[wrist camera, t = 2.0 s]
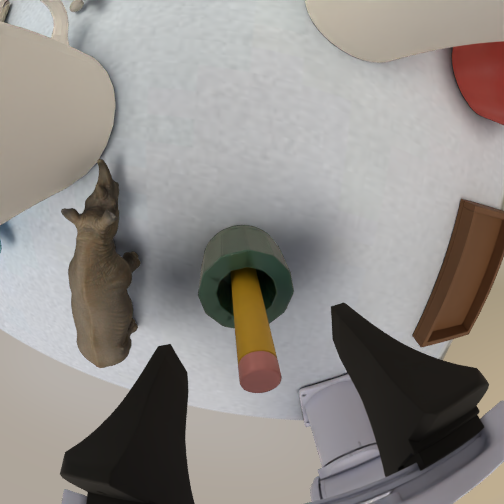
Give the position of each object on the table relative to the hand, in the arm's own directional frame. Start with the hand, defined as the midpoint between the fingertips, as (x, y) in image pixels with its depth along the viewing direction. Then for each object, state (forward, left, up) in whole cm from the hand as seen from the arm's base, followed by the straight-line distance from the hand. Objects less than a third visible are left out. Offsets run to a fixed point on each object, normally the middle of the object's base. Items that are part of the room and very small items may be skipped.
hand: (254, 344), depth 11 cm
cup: (+16, -12, -8) cm, 22 cm away
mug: (+14, +9, -8) cm, 19 cm away
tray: (-8, -22, -8) cm, 25 cm away
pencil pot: (0, 0, -8) cm, 8 cm away
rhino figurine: (+3, +8, -8) cm, 12 cm away
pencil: (0, 0, -7) cm, 7 cm away
